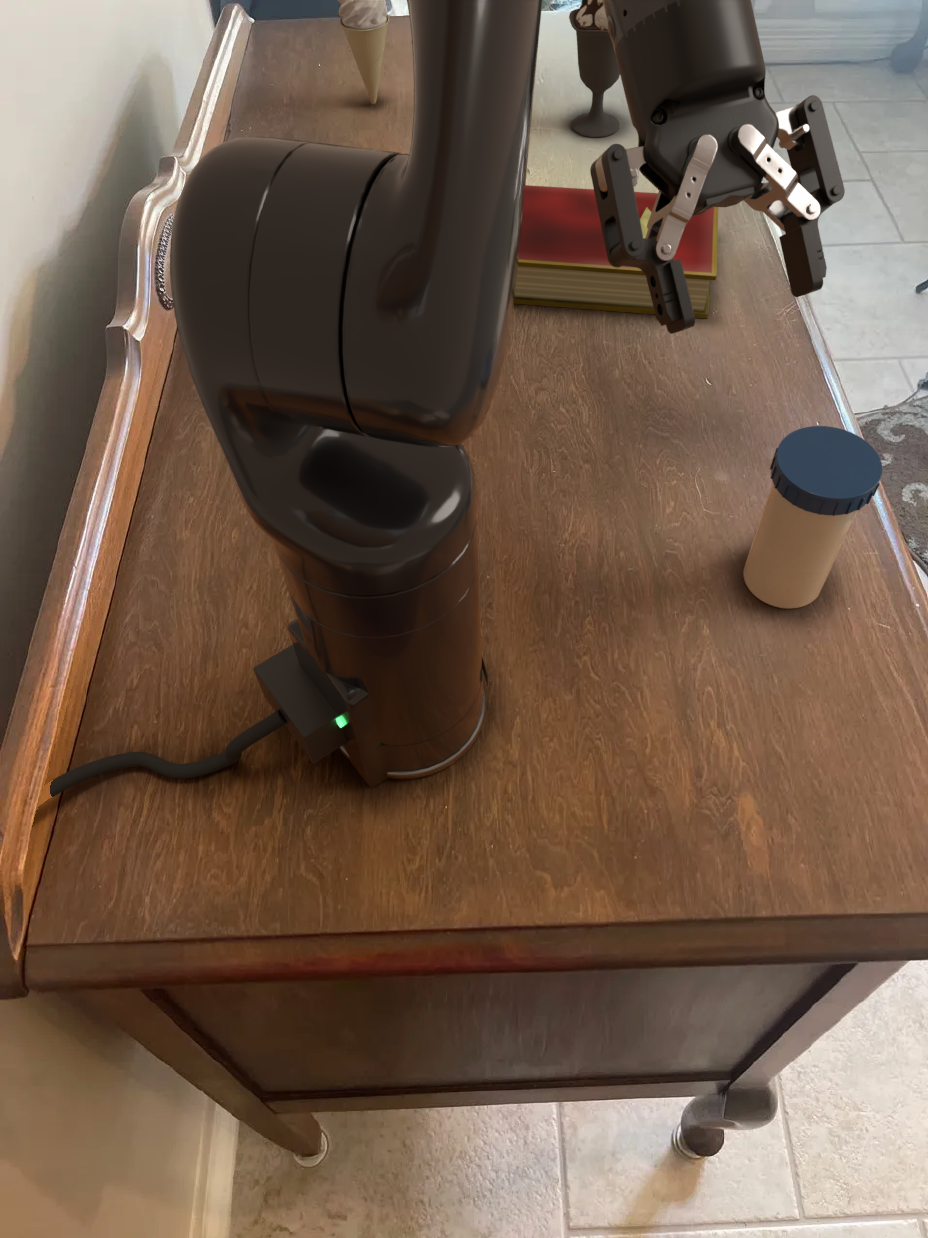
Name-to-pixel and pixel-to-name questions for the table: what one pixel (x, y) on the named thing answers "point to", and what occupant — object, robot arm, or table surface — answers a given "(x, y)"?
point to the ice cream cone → (366, 37)
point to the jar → (793, 552)
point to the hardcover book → (600, 255)
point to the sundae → (595, 67)
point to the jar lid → (826, 470)
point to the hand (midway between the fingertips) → (746, 311)
